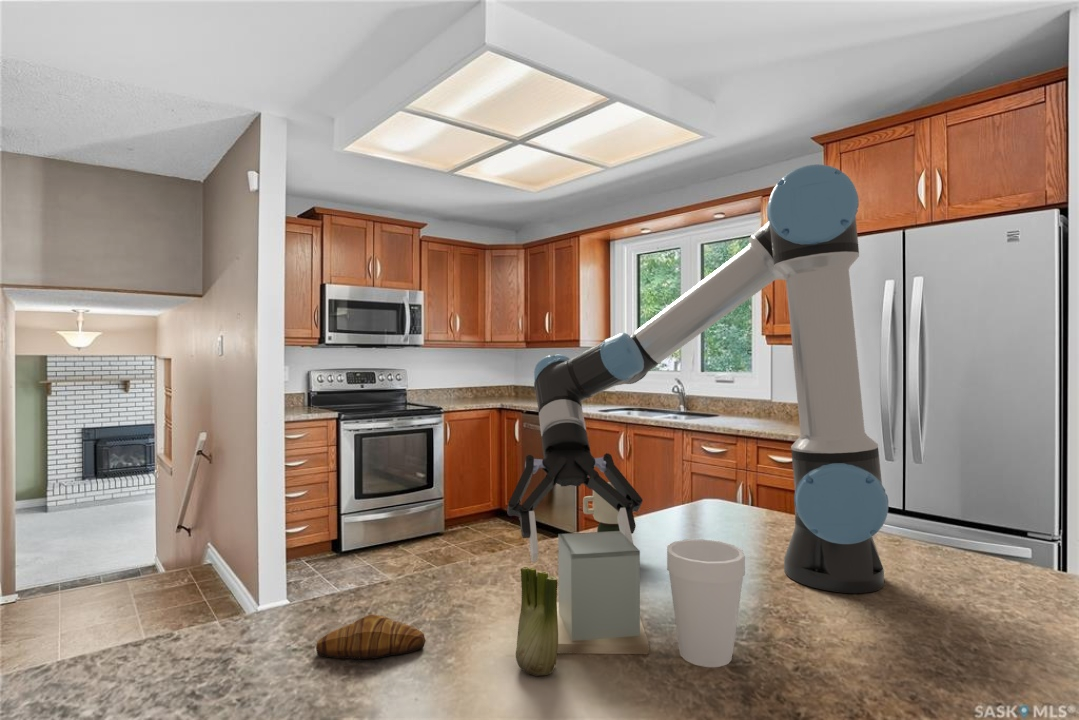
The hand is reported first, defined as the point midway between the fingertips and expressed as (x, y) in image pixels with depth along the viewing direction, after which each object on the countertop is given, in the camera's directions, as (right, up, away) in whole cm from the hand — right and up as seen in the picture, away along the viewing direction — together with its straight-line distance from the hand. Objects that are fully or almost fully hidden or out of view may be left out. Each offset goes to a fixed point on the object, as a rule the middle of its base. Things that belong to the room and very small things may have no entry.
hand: (583, 555), depth 86 cm
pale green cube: (+2, -8, -3) cm, 9 cm away
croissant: (-27, -10, -8) cm, 30 cm away
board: (0, -9, -3) cm, 10 cm away
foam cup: (+15, -10, -10) cm, 20 cm away
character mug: (+7, -9, +29) cm, 31 cm away
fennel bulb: (-6, -10, -13) cm, 18 cm away
